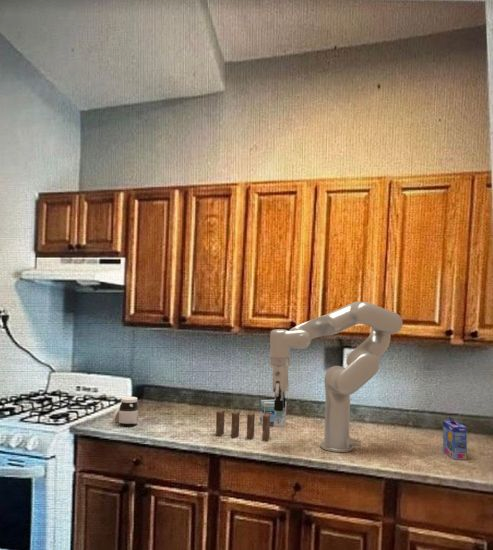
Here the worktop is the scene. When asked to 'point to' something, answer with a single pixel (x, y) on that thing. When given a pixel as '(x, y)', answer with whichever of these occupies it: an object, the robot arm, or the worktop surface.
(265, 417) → the walnut domino
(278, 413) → the teal domino
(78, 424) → the worktop surface
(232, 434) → the walnut domino
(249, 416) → the walnut domino
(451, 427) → the ink cartridge box
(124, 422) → the spread jar
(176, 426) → the worktop surface
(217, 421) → the walnut domino
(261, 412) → the light bulb box
